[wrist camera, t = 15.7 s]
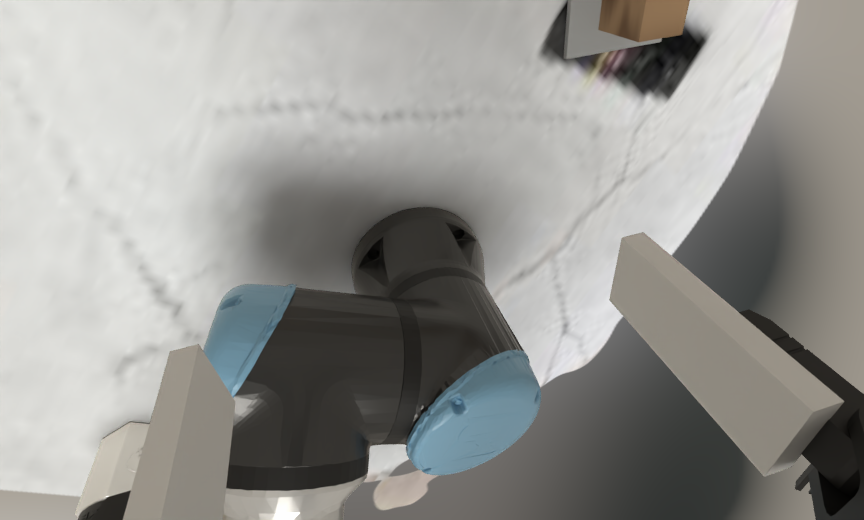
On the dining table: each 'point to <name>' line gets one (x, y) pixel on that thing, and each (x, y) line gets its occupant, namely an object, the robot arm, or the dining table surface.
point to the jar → (112, 468)
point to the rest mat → (591, 31)
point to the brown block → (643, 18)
